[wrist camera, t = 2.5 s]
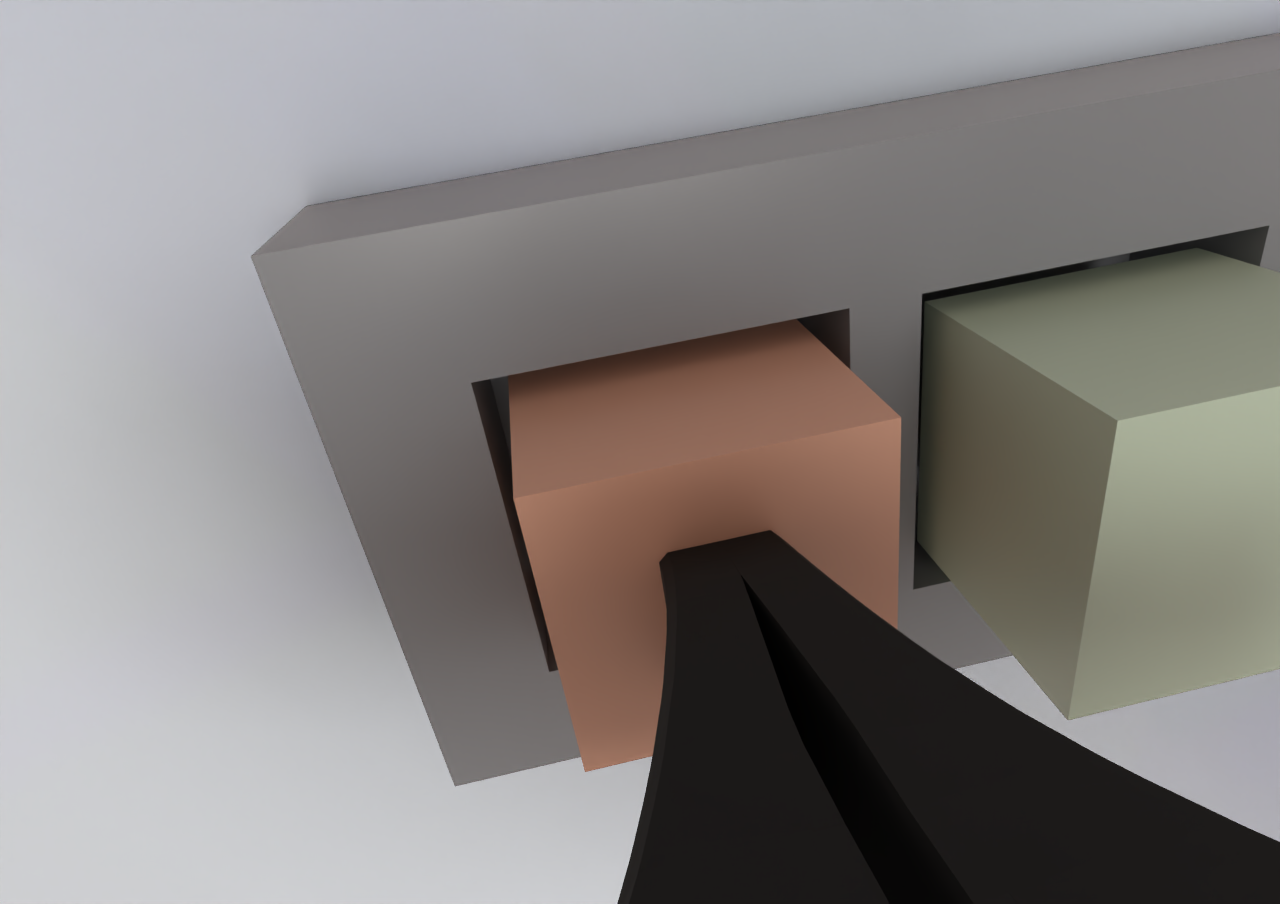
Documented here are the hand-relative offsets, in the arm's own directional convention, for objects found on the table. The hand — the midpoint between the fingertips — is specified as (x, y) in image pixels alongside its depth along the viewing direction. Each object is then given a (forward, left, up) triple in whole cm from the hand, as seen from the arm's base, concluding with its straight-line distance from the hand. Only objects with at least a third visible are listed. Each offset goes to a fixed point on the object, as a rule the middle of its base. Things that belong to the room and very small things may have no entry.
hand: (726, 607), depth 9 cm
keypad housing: (-6, 0, -5) cm, 8 cm away
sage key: (-6, 0, -3) cm, 7 cm away
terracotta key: (0, 0, -4) cm, 4 cm away
